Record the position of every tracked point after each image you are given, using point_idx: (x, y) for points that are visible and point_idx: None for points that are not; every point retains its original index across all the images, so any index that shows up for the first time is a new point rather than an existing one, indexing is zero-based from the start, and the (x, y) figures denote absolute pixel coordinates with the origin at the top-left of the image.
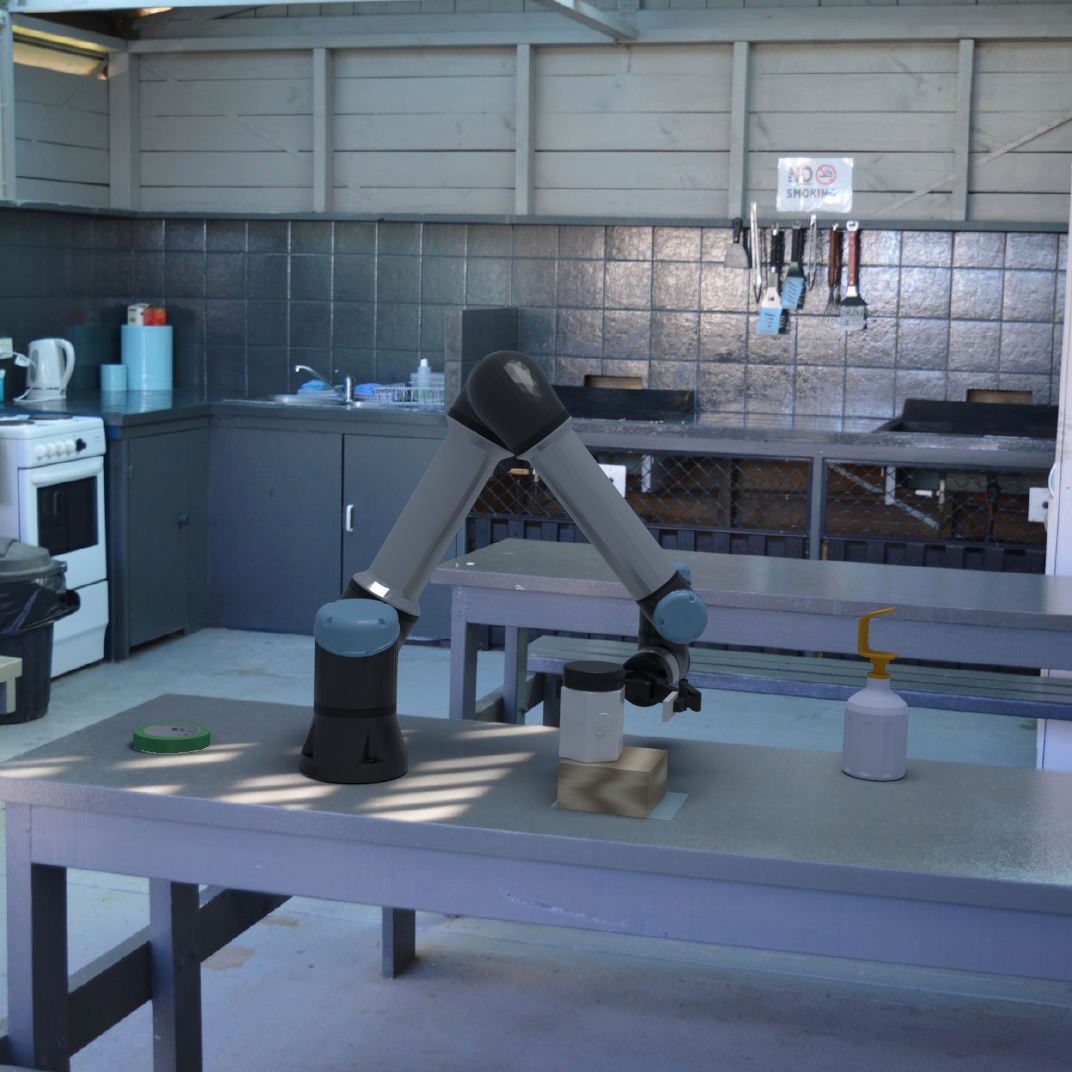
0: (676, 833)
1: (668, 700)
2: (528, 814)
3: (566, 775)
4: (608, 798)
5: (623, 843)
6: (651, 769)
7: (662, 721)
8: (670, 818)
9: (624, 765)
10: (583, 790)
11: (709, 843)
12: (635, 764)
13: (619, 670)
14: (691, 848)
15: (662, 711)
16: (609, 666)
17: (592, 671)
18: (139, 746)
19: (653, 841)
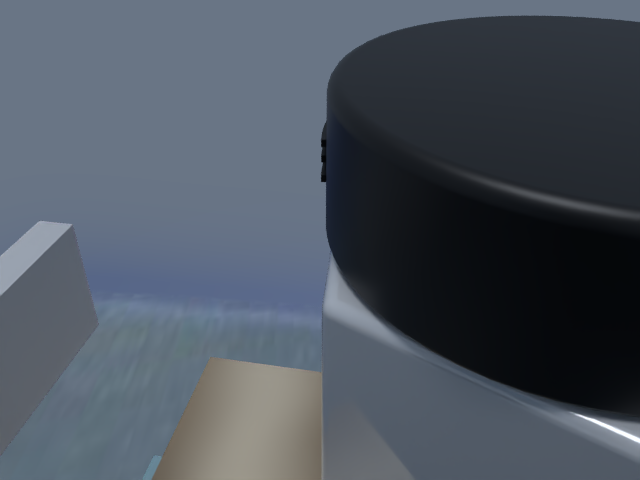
0: (157, 392)
1: (24, 241)
2: None
3: None
4: None
5: (299, 317)
6: (196, 386)
7: (95, 323)
8: (148, 477)
9: (303, 417)
10: None
11: (91, 344)
12: (256, 436)
13: (362, 45)
14: (146, 313)
15: (85, 278)
16: (473, 87)
17: (534, 18)
18: None
19: (228, 336)
